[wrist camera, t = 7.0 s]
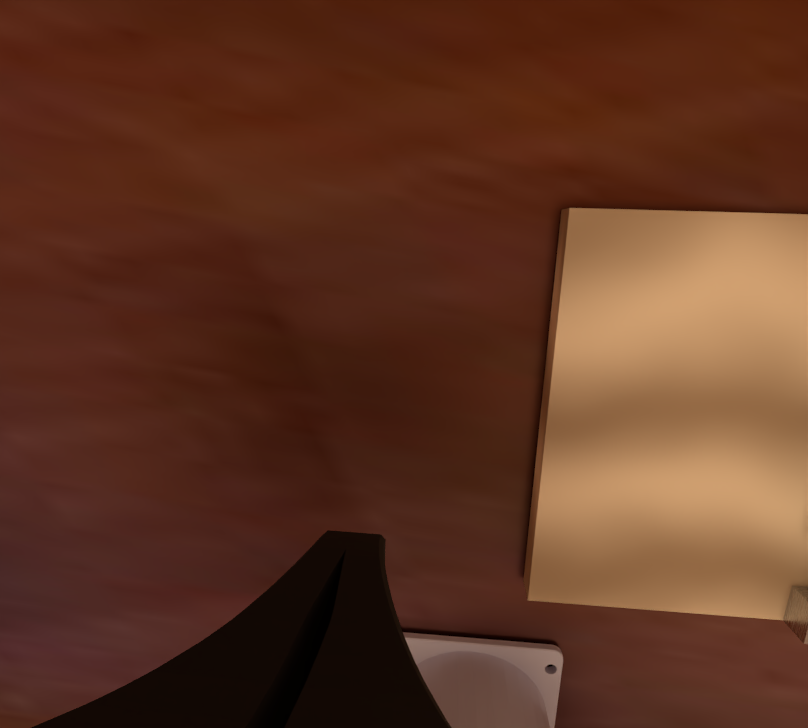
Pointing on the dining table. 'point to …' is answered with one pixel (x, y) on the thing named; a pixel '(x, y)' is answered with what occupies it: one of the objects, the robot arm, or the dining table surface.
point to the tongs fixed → (798, 612)
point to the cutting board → (674, 414)
